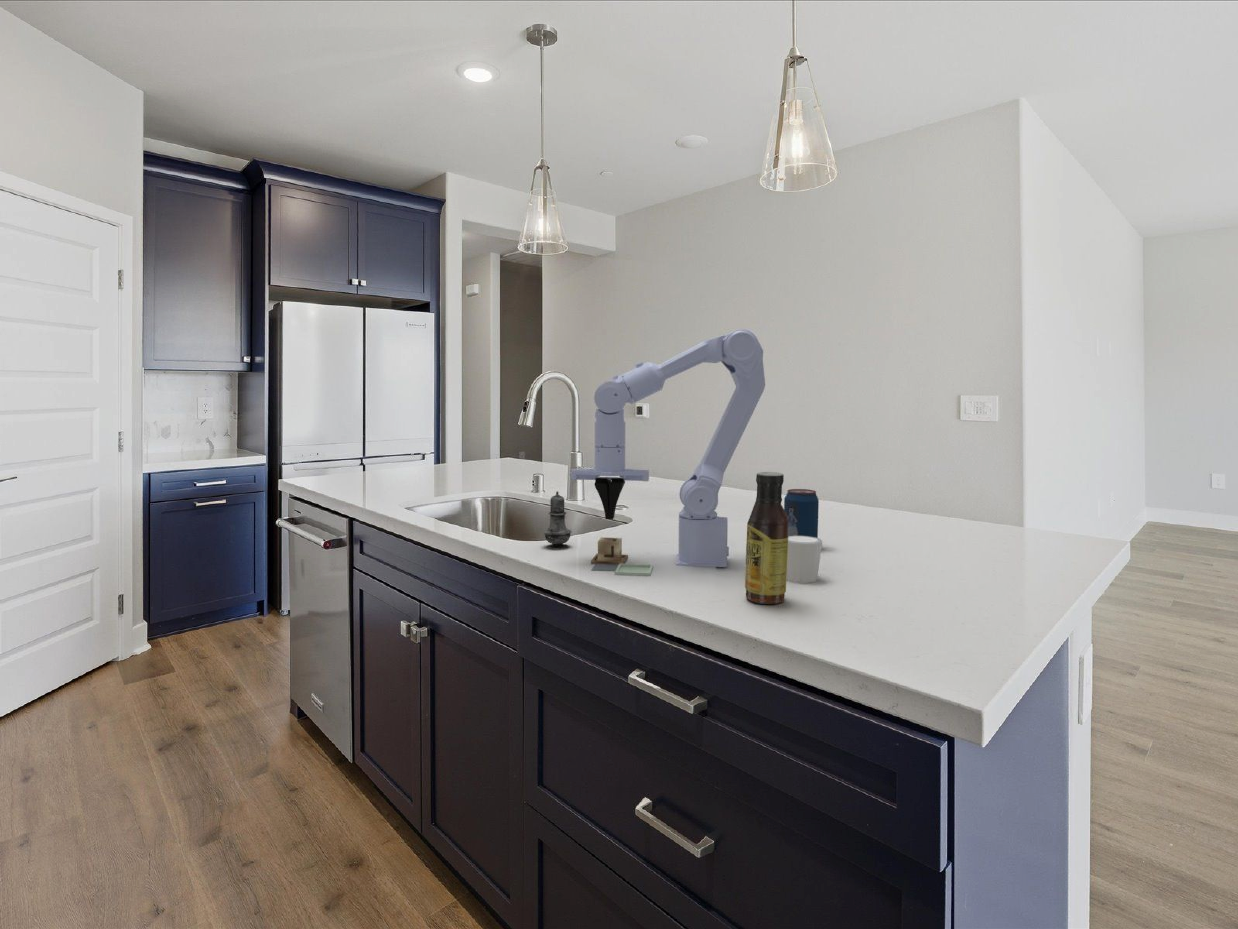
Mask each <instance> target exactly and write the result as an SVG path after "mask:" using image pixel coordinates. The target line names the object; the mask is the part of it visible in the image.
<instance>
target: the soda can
mask: <svg viewBox="0 0 1238 929" xmlns="http://www.w3.org/2000/svg"><path fill="white" fill-rule="evenodd" d="M783 500H784V503H783V505H784V506H783V508H784V510H785V512H786V514H787V517H788V536H810V537H816V538H819V537H818V536H819V505H820V504H819V503H820V502H819V498H818V496H817V491H816V490H813V489H809V488H808V489H806V488H792V489H788V490H787V493H786V495H785V497H784V499H783Z"/></svg>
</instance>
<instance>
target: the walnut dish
mask: <svg viewBox="0 0 1238 929" xmlns="http://www.w3.org/2000/svg"><path fill="white" fill-rule="evenodd" d="M628 558H629V554H622V559H621V560H620V562H615V561H598V553H596V554H595V555H594V557H593V558H592V559H591V560H590V565H595V564H614V565H619V563H623V564H626V562H627V560H628Z"/></svg>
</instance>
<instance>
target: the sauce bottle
mask: <svg viewBox="0 0 1238 929" xmlns="http://www.w3.org/2000/svg"><path fill="white" fill-rule="evenodd" d="M784 481H785V480H784V474H783V473H782V472H777V471H776V472H775V471H760V472H757V473H756V478H755V482H756V484H757V485H756V498H755V501H754V504H753V507H752V510H751V512H750V515H749V519H748V520H747V524H746V544H745V545H746V547H745V553H746V554H745V574H744V576H745V577H744V580H745V583H744V587H745V597H746V599H747V600H749V601H751V602H754V603H755V604H760V605H761V604H762V605H763V604H764V605H773V604H776V605H778V604H781V603H783V602H784V600H785V596H786V595H785V593H786V592H787V591H786V590H787V580H786V576H787V554H788V517H787V514H786V512H785V510H784V506H783V505H782V501H783V498H782V495H783V493H782V492H783V484H784V483H785V482H784Z"/></svg>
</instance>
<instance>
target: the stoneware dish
mask: <svg viewBox="0 0 1238 929" xmlns="http://www.w3.org/2000/svg"><path fill="white" fill-rule="evenodd" d="M653 569H654V564H650V563H647V564H646V563H645V564H643V563H625V564H623V563H619V565H618V567H617V569H616V571H614V575H615V576H630V577H631V576H633V577H634V576H635V577H651V575H652V572H653Z"/></svg>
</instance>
